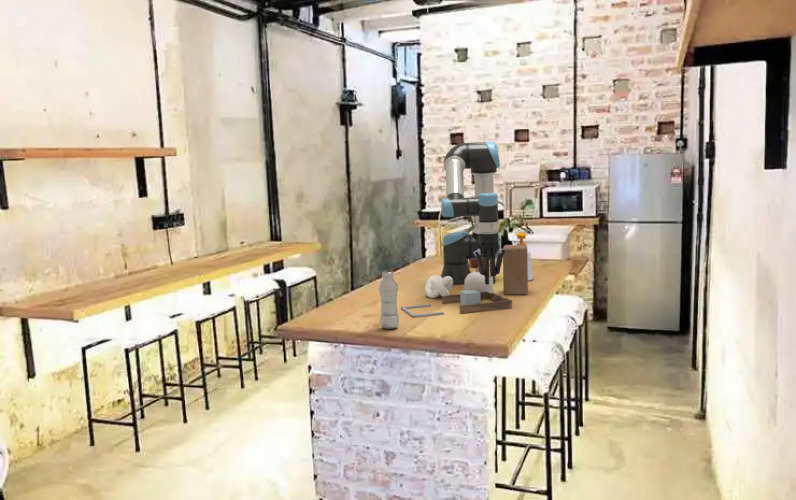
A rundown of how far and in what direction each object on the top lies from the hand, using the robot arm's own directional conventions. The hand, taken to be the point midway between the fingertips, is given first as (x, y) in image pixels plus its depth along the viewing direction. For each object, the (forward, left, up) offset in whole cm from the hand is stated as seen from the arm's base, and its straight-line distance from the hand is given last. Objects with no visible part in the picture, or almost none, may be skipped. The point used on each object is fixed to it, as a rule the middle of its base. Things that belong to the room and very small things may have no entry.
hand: (490, 292), depth 257 cm
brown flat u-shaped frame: (0, -6, -5) cm, 8 cm away
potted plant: (-86, +30, -5) cm, 91 cm away
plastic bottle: (+19, -46, -5) cm, 50 cm away
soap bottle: (-43, +36, -5) cm, 56 cm away
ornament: (-17, +2, -5) cm, 18 cm away
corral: (0, -28, -5) cm, 29 cm away
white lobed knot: (-21, -13, -5) cm, 26 cm away
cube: (0, -8, -5) cm, 10 cm away
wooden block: (-15, +19, -5) cm, 25 cm away
